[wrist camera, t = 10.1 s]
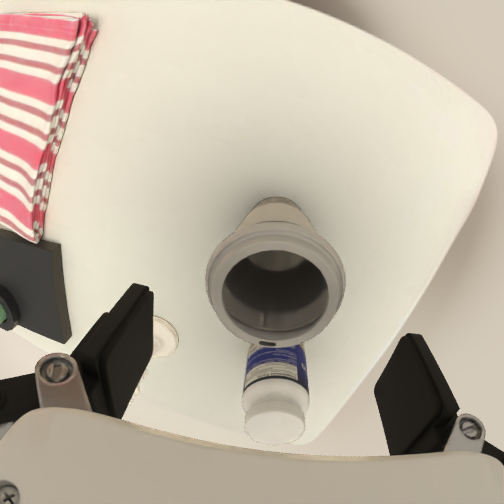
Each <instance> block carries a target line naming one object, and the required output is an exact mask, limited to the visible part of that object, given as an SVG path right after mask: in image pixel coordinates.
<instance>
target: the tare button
mask: <svg viewBox="0 0 504 504" xmlns="http://www.w3.org/2000/svg"><path fill="white" fill-rule="evenodd" d="M6 318H7V315H6V312H5V310H4V308H3V306H2V305H1V304H0V324H1V323H2V322H3V321H4V320H5V319H6Z"/></svg>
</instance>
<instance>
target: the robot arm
mask: <svg viewBox="0 0 504 504" xmlns="http://www.w3.org/2000/svg"><path fill="white" fill-rule="evenodd" d="M153 301H154V294H153V292H152V291H149V287H148V286H144V285H140V284H136V283H133V284H132V285H131V286H130V287H129V289H128V290H127V291H126V292H125V293H124V295H123V296H122V297H121V298H120V300H119V301H118V302H117V303H116V304H115V306H114V307H113V308H112V309H111V311H110V312H109V313H108V312H105V313H104V314H103V315H102V316H101V317H100V318H99V319H98V320H97V322H96V323H95V324H94V325H93V327H92V328H91V329H90V330H89V332H88V333H87V334H86V336H85V337H84V338H83V339H82V341H81V342H80V343H79V344H78V346H77V347H76V348H75V350H74V351H73V352H72V354H71V355H70V356H69V355H67V354H63V353H52V354H48V355H46V356H44V357H42V358H41V359H40V360H39V361H38V362H37V364H36V366H35V373H32V374H27V375H22V376H18V377H13V378H8V379H3V380H0V504H504V452H503V451H501V450H499V449H498V448H496V447H494V446H493V445H491V444H490V443H488V442H487V441H485V440H484V439H485V428H484V426H483V424H482V422H481V421H480V420H479V419H478V418H476V417H475V416H473V415H471V414H461V415H460V416H457V411H458V410H459V409H460V408H459V406H458V404H457V402H456V400H455V398H454V396H453V394H452V391H451V389H450V387H449V385H448V383H447V381H446V379H445V378H444V376H443V374H442V372H441V370H440V368H439V366H438V364H437V362H436V360H435V358H434V356H433V355H432V353H431V351H430V349H429V347H428V345H427V344H426V342H425V340H424V338H423V337H422V335H420V334H412V333H407V334H406V335H405V336H403V337H402V338H401V339H400V341H399V343H398V345H397V347H396V349H395V350H394V353H393V354H392V356H391V358H390V360H389V362H388V364H387V366H386V367H385V369H384V371H383V373H382V374H381V376H380V378H379V380H378V381H377V383H376V385H375V388H374V394H375V398H376V401H377V405H378V409H379V413H380V417H381V420H382V424H383V428H384V432H385V436H386V440H387V445H388V449H389V453H390V456H369V457H347V456H346V457H345V456H344V457H343V456H317V455H300V454H289V453H279V452H270V451H262V450H254V449H247V448H240V447H235V446H228V445H222V444H217V443H212V442H207V441H202V440H198V439H193V438H188V437H185V436H180V435H176V434H172V433H168V432H164V431H160V430H156V429H152V428H149V427H145V426H142V425H138V424H135V423H131V422H128V421H124V420H121V419H122V417H123V415H124V412H125V410H126V408H127V406H128V404H129V402H130V400H131V398H132V396H133V394H134V392H135V389H136V387H137V385H138V383H139V381H140V379H141V377H142V375H143V373H144V371H145V369H146V367H147V365H148V363H149V361H150V359H151V357H152V354H153Z"/></svg>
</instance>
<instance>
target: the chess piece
mask: <svg viewBox="0 0 504 504" xmlns="http://www.w3.org/2000/svg"><path fill="white" fill-rule="evenodd" d="M177 345H178V336H177V333H176V331H175V330H174V328H173V327H172V326H171V325H170V324H169V323H168V322H166V321H165V320H163V319H161V318H158V317H154V316H153V354H152V357H153V356H156V357H165V356H168V355H170V354H171V353H172V352H173V351H174V350H175V349H176V347H177ZM152 357H151V358H152ZM147 376H148V370H147V369H145V371H144V373H143V375H142V377H141V379H140V380H142V379H145V378H146V377H147ZM139 383H140V381H139ZM139 383H138V385H137V387H136V389H135V392H134V394H133V396H136V395H137V394H138V393H139ZM132 402H133V399H132V398H131V400H130V402H129V405H131V404H132Z"/></svg>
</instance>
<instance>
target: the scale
mask: <svg viewBox="0 0 504 504" xmlns="http://www.w3.org/2000/svg"><path fill="white" fill-rule="evenodd" d="M0 304H1V305H2V306H3V308H4V310H5V312H6V315H7V318H6V319H5V320H4V321H3V322H2V323H1V324H0V328H2V329H4V330H7V331H9V330H12V329H13V328H14V327H15V326H16V325H20V326H22V327H24V328H27V329H29V330H31V331H33V332H36V333H38V334H40V335H43V336H45V337H47V338H50V339H52V340H55V341H57V342H60V343H62V344H65V343H66V342H67V341H68V340H69V338H70V337H71V336H72V333H71V328H70V322H69V316H68V310H67V303H66V296H65V288H64V279H63V269H62V258H61V245H60V244H56V243H52V242H48V241H44V240H41V239H40V240H39V242H38V243H37V244H36V243H33V242H31V241H28V240H27V239H25V238H23V237H22V236H20V235H18V234H17V233H14V232H10V231H6V230H3V229H0Z"/></svg>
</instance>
